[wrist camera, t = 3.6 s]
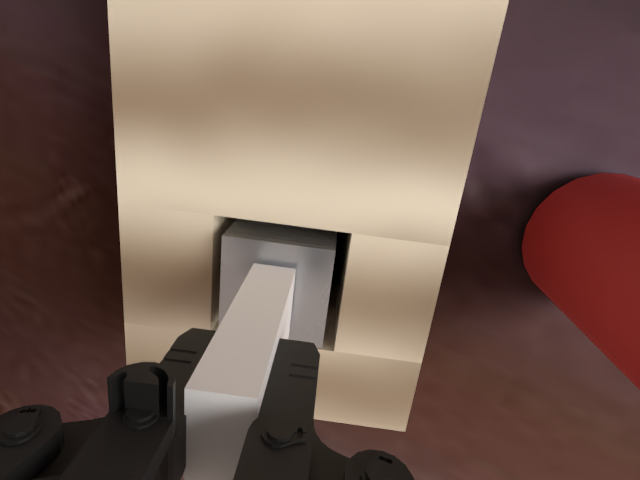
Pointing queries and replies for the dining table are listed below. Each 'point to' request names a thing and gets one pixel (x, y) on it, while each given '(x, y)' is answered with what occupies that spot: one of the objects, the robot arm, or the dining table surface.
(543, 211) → the beer can
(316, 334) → the metal peg
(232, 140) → the birch block
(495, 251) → the dining table surface
